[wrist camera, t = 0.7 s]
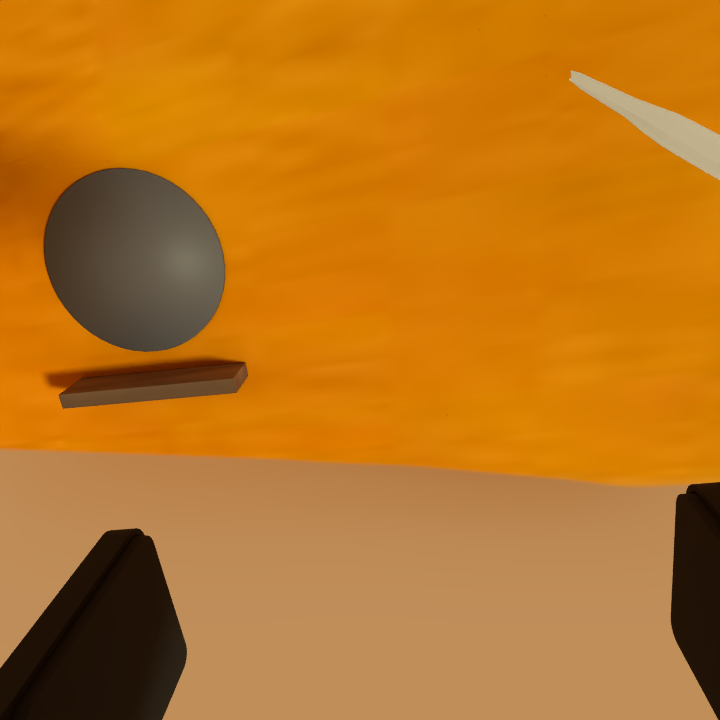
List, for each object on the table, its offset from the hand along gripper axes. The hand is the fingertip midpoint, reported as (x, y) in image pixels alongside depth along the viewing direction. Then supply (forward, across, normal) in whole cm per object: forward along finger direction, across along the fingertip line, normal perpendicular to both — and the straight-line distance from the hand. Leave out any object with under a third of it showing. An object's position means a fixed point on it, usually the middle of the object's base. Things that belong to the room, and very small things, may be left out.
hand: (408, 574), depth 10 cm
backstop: (+28, +18, +6) cm, 34 cm away
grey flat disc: (+29, +18, -2) cm, 34 cm away
